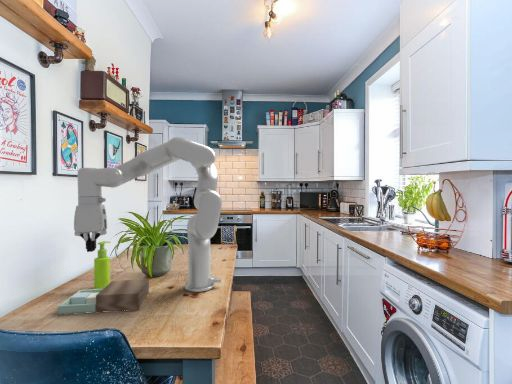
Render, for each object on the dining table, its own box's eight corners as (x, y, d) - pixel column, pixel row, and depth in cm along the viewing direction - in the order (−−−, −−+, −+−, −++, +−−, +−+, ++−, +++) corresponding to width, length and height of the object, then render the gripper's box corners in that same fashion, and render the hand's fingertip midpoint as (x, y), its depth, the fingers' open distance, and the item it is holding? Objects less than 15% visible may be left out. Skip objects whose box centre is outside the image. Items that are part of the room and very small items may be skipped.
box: (111, 295, 114) (111, 288, 114) (95, 312, 98) (95, 304, 98) (79, 297, 112) (79, 289, 112) (58, 315, 96) (57, 306, 96)
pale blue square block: (78, 292, 108) (78, 299, 108) (70, 297, 103) (70, 305, 103) (91, 292, 108) (91, 299, 108) (85, 297, 103) (85, 304, 103)
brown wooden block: (148, 293, 116) (148, 279, 116) (138, 310, 100) (138, 293, 100) (112, 295, 114) (112, 280, 114) (96, 312, 98) (95, 295, 98)
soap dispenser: (114, 286, 125) (114, 240, 125) (102, 291, 118) (102, 243, 118) (103, 285, 127) (103, 240, 127) (91, 290, 120) (90, 243, 120)
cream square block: (106, 299, 108) (106, 292, 108) (101, 304, 103) (101, 297, 103) (92, 300, 108) (91, 292, 108) (86, 305, 103) (86, 297, 103)
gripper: (115, 200, 110) (116, 248, 110) (73, 201, 107) (74, 249, 108) (107, 201, 102) (109, 252, 102) (62, 202, 100) (63, 254, 100)
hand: (91, 250), depth 105 cm, fingers closed
